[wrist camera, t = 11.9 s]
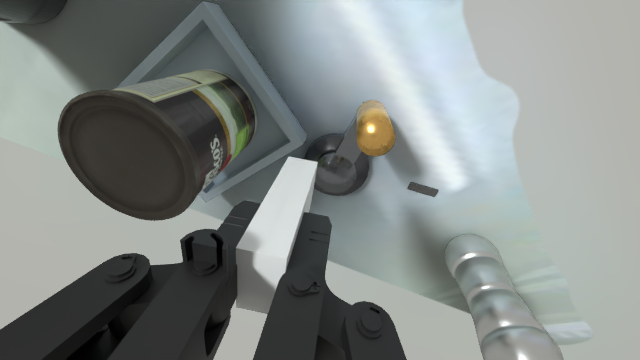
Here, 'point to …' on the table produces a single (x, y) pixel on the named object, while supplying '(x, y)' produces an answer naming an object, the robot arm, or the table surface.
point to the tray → (237, 61)
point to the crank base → (331, 143)
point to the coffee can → (156, 140)
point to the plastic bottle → (496, 304)
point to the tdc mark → (422, 189)
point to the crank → (355, 147)
